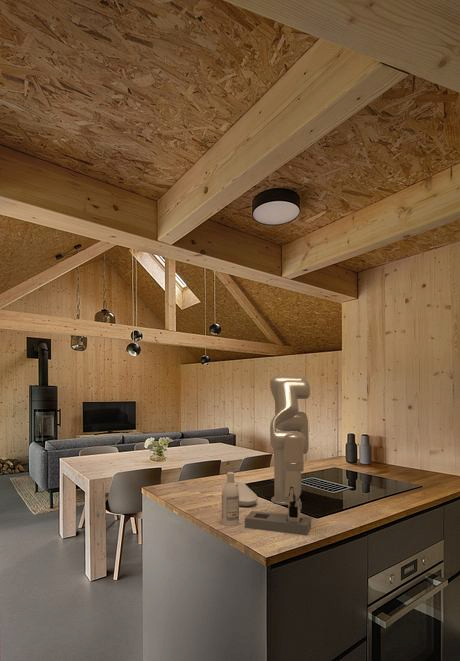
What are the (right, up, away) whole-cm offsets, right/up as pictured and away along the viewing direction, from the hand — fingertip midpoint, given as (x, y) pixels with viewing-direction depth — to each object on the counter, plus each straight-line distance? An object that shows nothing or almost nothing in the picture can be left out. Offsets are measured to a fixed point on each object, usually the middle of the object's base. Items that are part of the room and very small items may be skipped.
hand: (294, 514), depth 160 cm
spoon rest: (-19, -11, +39) cm, 45 cm away
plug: (0, -4, -1) cm, 4 cm away
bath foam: (-25, -6, +5) cm, 26 cm away
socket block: (-6, -6, +1) cm, 9 cm away
